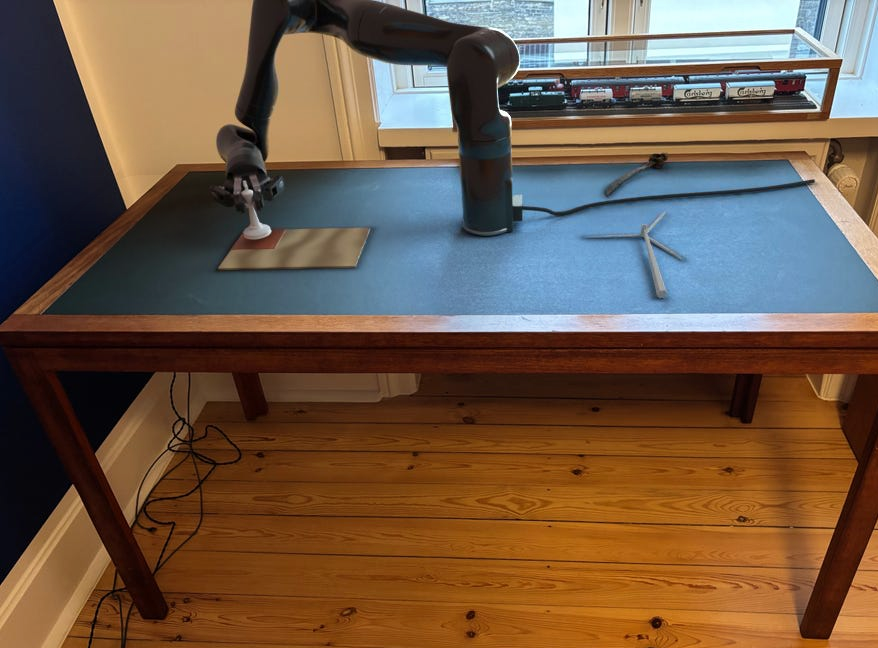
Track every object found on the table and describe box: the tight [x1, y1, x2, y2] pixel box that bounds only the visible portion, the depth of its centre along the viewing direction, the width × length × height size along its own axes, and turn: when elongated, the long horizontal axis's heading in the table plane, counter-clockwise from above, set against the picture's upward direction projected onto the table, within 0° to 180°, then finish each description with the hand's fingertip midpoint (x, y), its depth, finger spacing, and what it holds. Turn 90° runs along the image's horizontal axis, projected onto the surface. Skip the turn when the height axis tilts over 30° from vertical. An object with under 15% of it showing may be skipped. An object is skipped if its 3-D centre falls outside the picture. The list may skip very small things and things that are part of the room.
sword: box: [604, 151, 669, 197], centre depth 149 cm, size 25×4×2 cm, turn 137°
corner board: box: [217, 227, 372, 271], centre depth 129 cm, size 24×15×1 cm, turn 87°
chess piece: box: [241, 181, 272, 239], centre depth 129 cm, size 5×5×10 cm
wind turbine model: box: [584, 210, 683, 299], centre depth 122 cm, size 16×2×30 cm
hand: (250, 207), depth 126 cm, fingers closed on chess piece
